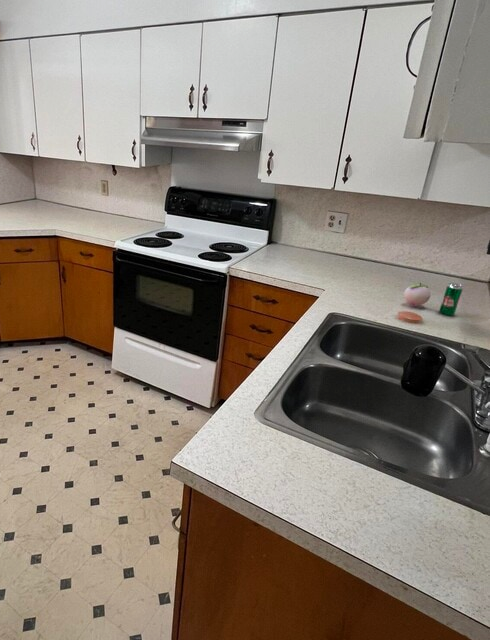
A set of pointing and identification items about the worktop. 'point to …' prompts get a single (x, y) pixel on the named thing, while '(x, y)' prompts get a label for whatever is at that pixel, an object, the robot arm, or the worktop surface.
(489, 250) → the robot arm
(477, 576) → the worktop surface
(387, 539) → the worktop surface
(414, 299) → the decorative fruit
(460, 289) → the soda can
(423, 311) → the worktop surface
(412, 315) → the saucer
